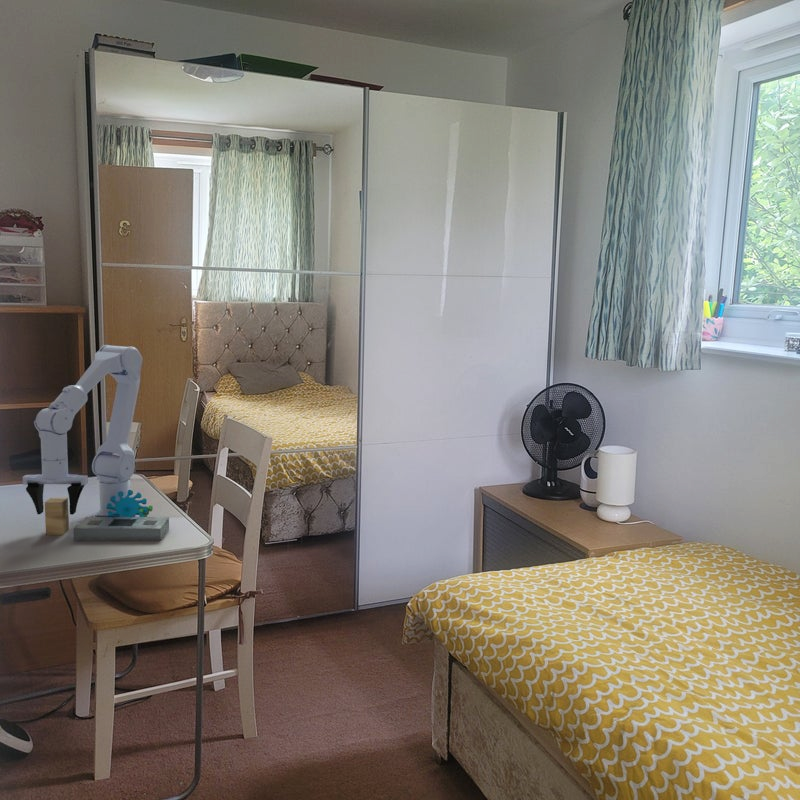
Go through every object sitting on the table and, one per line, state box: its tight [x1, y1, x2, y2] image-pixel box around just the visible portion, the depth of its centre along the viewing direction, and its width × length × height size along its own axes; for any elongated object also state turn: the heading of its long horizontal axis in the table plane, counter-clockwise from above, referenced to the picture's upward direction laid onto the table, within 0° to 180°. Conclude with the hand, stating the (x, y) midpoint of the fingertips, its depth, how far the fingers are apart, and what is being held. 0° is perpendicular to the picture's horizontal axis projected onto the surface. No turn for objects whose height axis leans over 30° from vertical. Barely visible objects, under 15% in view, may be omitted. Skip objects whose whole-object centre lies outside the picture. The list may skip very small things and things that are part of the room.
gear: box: [106, 489, 153, 517], centre depth 196 cm, size 11×6×10 cm
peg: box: [44, 497, 70, 536], centre depth 185 cm, size 4×4×8 cm
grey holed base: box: [73, 516, 170, 542], centre depth 185 cm, size 9×20×3 cm, turn 94°
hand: (56, 513), depth 185 cm, fingers open, 7 cm apart
